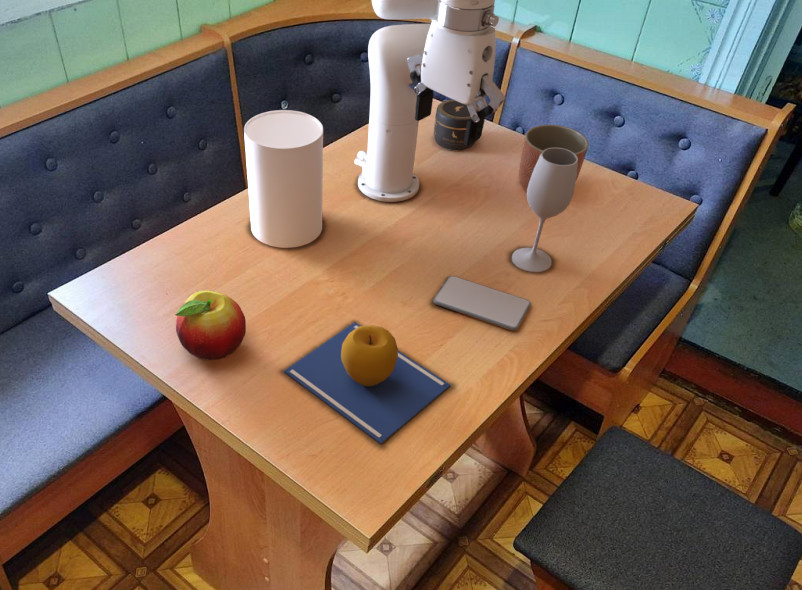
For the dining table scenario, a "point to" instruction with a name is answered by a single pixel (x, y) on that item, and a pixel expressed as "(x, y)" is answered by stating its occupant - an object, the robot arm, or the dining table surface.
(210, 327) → the fruit
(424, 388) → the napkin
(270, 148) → the canister
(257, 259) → the dining table surface
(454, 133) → the jar
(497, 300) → the smartphone
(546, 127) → the planter
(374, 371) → the apple
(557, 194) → the wineglass
